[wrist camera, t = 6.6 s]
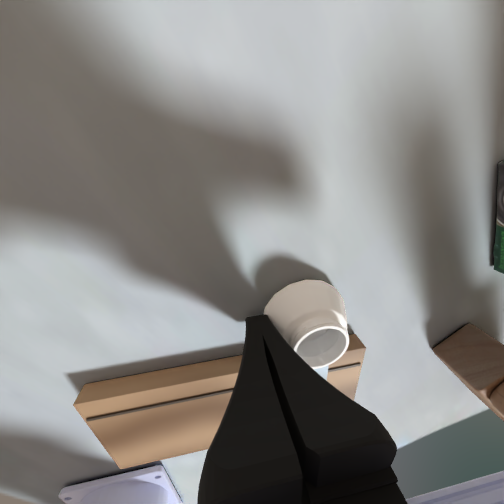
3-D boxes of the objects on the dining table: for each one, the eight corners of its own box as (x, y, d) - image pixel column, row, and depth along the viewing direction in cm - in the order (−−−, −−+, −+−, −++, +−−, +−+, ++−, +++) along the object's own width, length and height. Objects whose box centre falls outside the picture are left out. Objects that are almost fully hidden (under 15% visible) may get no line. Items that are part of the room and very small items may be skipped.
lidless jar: (349, 311, 14) (315, 260, 12) (380, 347, 11) (344, 290, 9) (287, 350, 15) (245, 309, 13) (303, 393, 12) (253, 350, 10)
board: (342, 400, 19) (350, 417, 17) (126, 448, 16) (119, 471, 15) (355, 333, 15) (366, 348, 14) (84, 384, 13) (71, 406, 12)
